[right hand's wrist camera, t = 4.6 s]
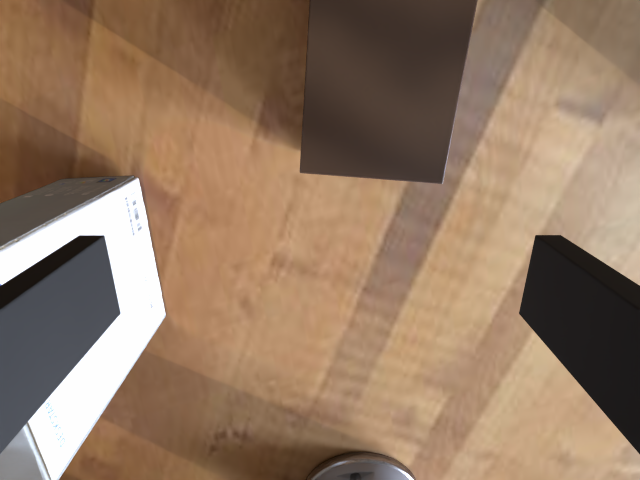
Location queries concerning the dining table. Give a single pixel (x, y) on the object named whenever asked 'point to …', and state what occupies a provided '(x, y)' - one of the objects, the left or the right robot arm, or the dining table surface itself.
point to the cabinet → (383, 87)
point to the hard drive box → (118, 340)
